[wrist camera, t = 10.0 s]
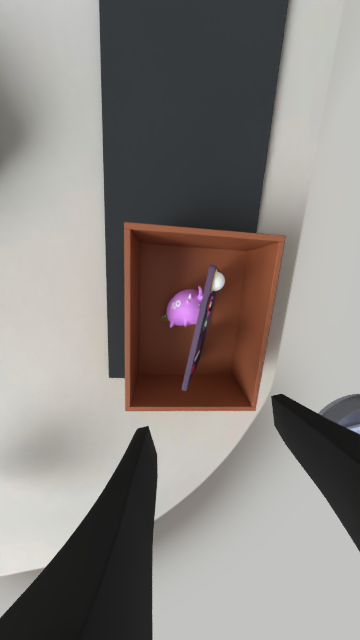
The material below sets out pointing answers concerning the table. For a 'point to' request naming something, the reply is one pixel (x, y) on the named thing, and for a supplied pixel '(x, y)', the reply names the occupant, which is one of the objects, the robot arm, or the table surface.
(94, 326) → the table surface
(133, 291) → the bin
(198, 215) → the mat
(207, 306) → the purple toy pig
